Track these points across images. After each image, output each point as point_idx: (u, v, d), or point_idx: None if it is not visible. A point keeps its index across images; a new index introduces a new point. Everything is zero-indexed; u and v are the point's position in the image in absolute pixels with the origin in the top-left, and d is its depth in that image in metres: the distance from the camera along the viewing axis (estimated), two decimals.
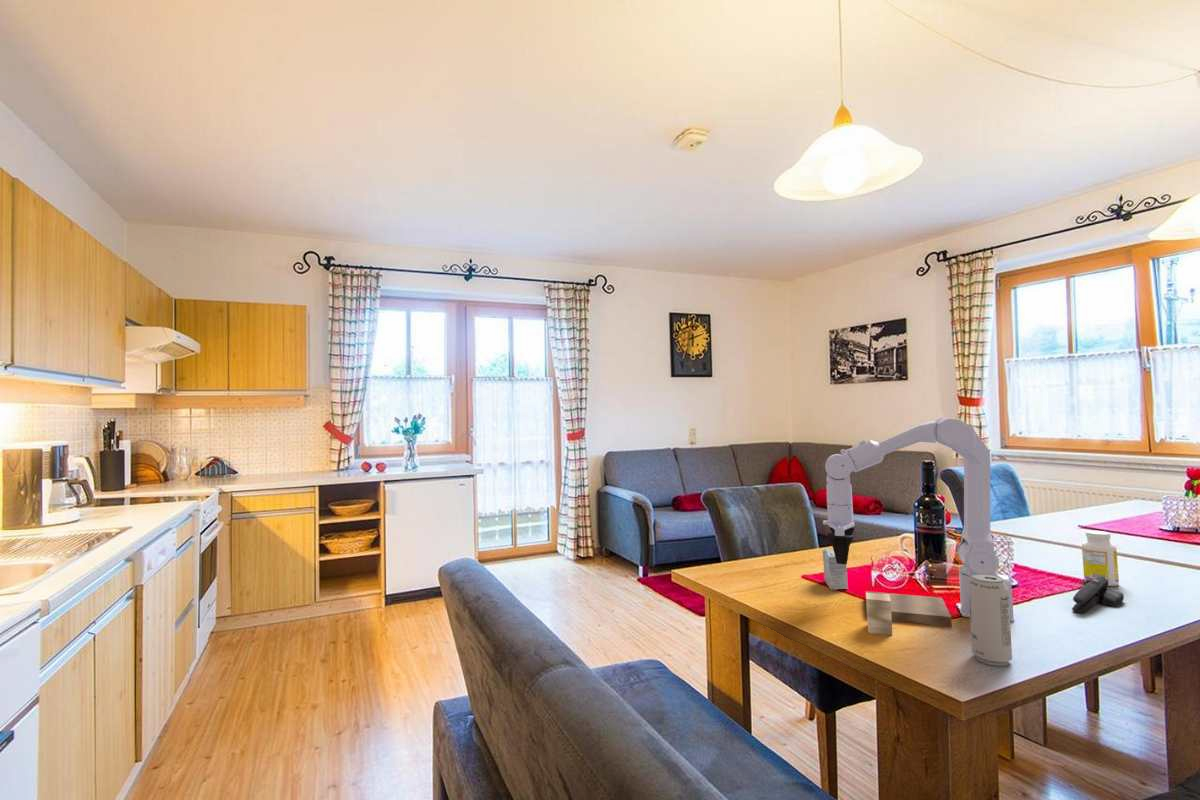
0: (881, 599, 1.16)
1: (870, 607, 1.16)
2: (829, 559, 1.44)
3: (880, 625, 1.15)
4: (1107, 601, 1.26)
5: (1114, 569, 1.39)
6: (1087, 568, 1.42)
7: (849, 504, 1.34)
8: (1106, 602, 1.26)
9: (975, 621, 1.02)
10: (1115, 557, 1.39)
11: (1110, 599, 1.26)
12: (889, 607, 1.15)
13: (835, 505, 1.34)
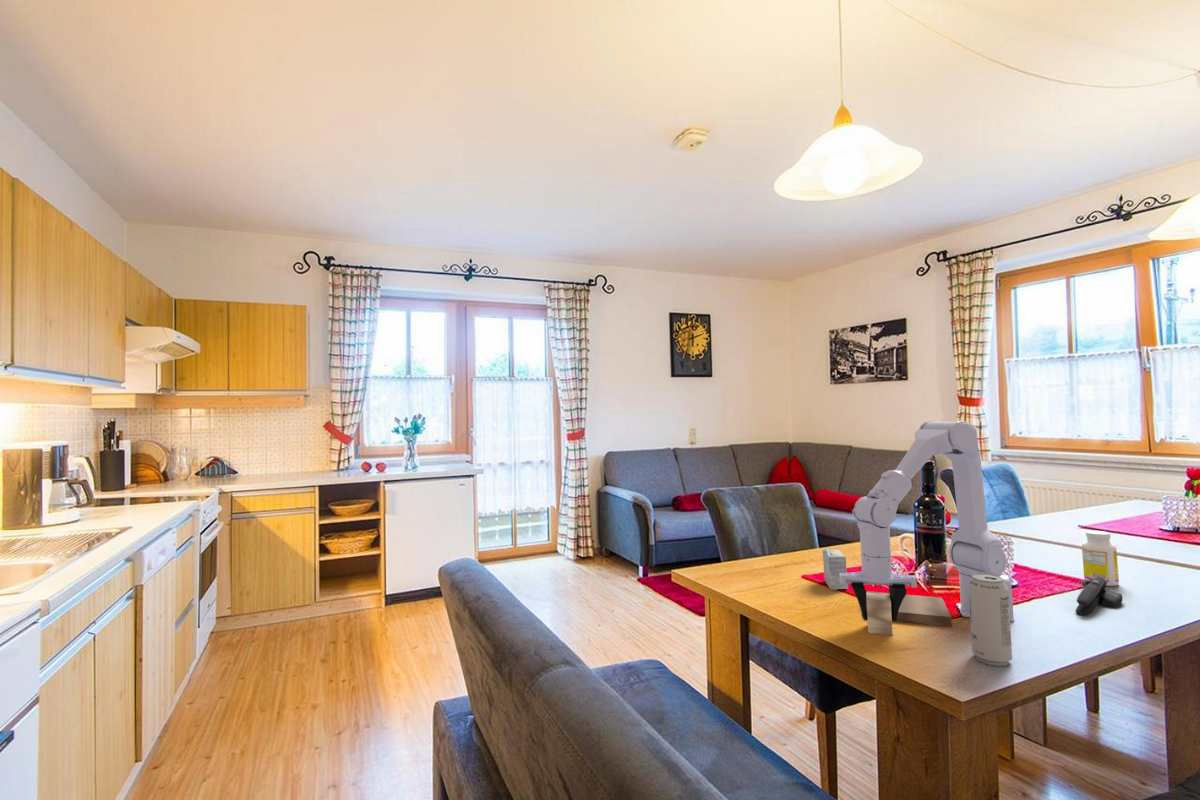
0: (881, 599, 1.16)
1: (870, 606, 1.16)
2: (829, 559, 1.44)
3: (880, 625, 1.15)
4: (1108, 602, 1.25)
5: (1114, 569, 1.39)
6: (1087, 568, 1.42)
7: (869, 556, 1.16)
8: (1106, 603, 1.25)
9: (975, 621, 1.02)
10: (1115, 557, 1.39)
11: (1110, 600, 1.25)
12: (889, 607, 1.15)
13: None
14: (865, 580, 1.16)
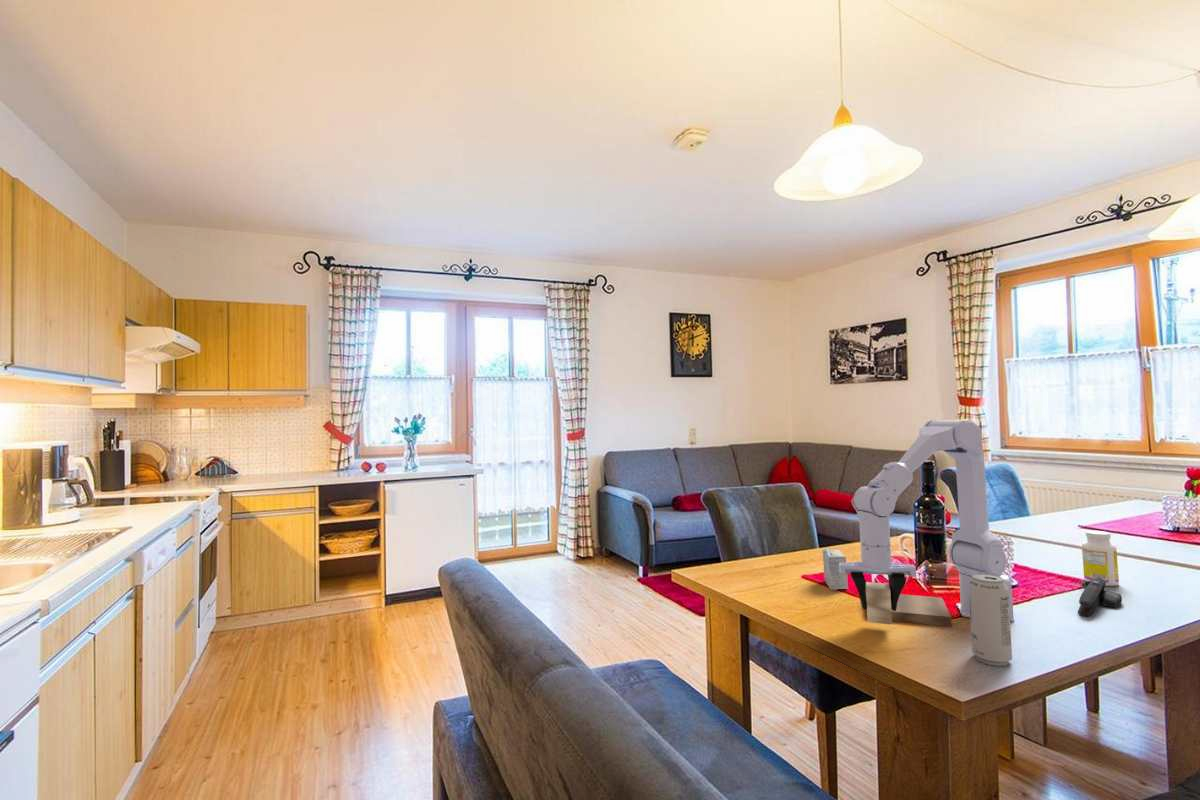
0: (881, 588, 1.16)
1: (870, 596, 1.16)
2: (829, 559, 1.44)
3: (879, 614, 1.15)
4: (1108, 603, 1.25)
5: (1114, 569, 1.39)
6: (1087, 568, 1.42)
7: (868, 545, 1.16)
8: (1107, 604, 1.25)
9: (975, 621, 1.02)
10: (1115, 557, 1.39)
11: (1111, 600, 1.25)
12: (889, 596, 1.15)
13: (860, 542, 1.19)
14: (865, 569, 1.16)
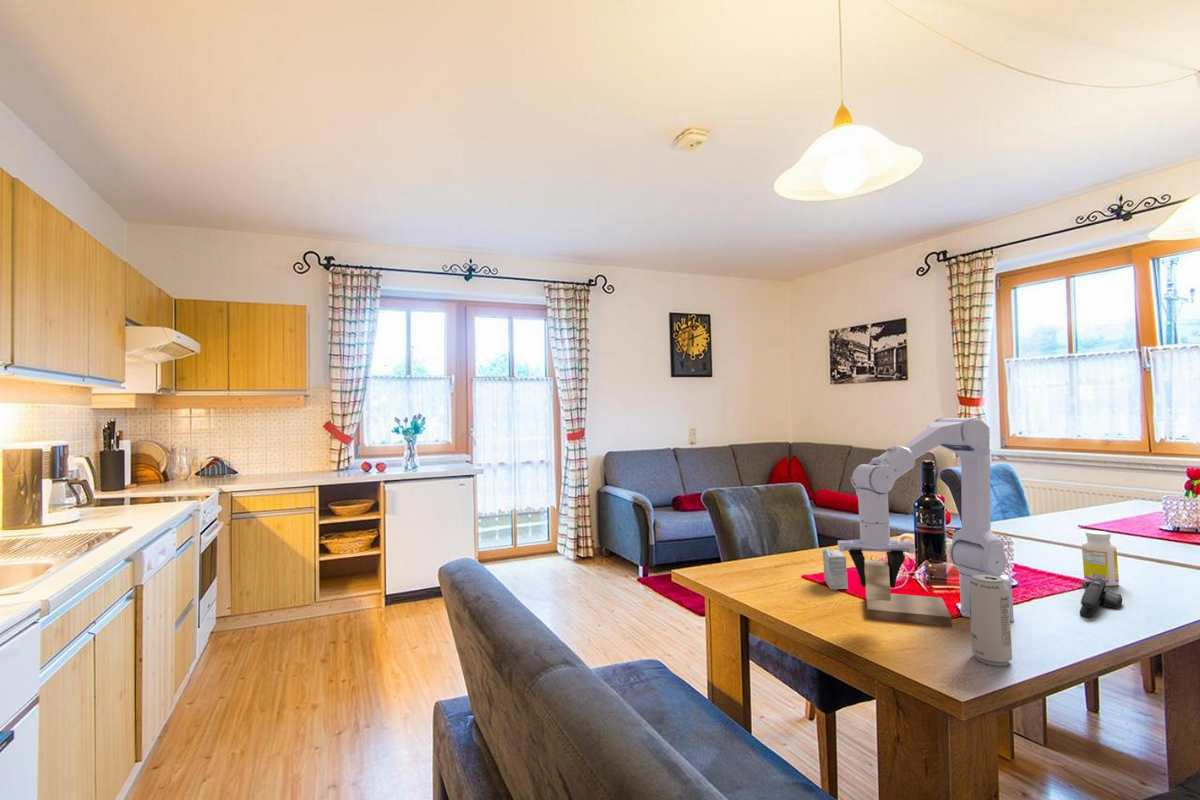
0: (879, 565, 1.16)
1: (869, 573, 1.16)
2: (829, 559, 1.44)
3: (878, 591, 1.16)
4: (1109, 603, 1.25)
5: (1114, 569, 1.39)
6: (1087, 568, 1.42)
7: (867, 522, 1.16)
8: (1108, 604, 1.25)
9: (975, 621, 1.02)
10: (1115, 557, 1.39)
11: (1112, 601, 1.25)
12: (887, 573, 1.15)
13: None
14: (863, 546, 1.16)
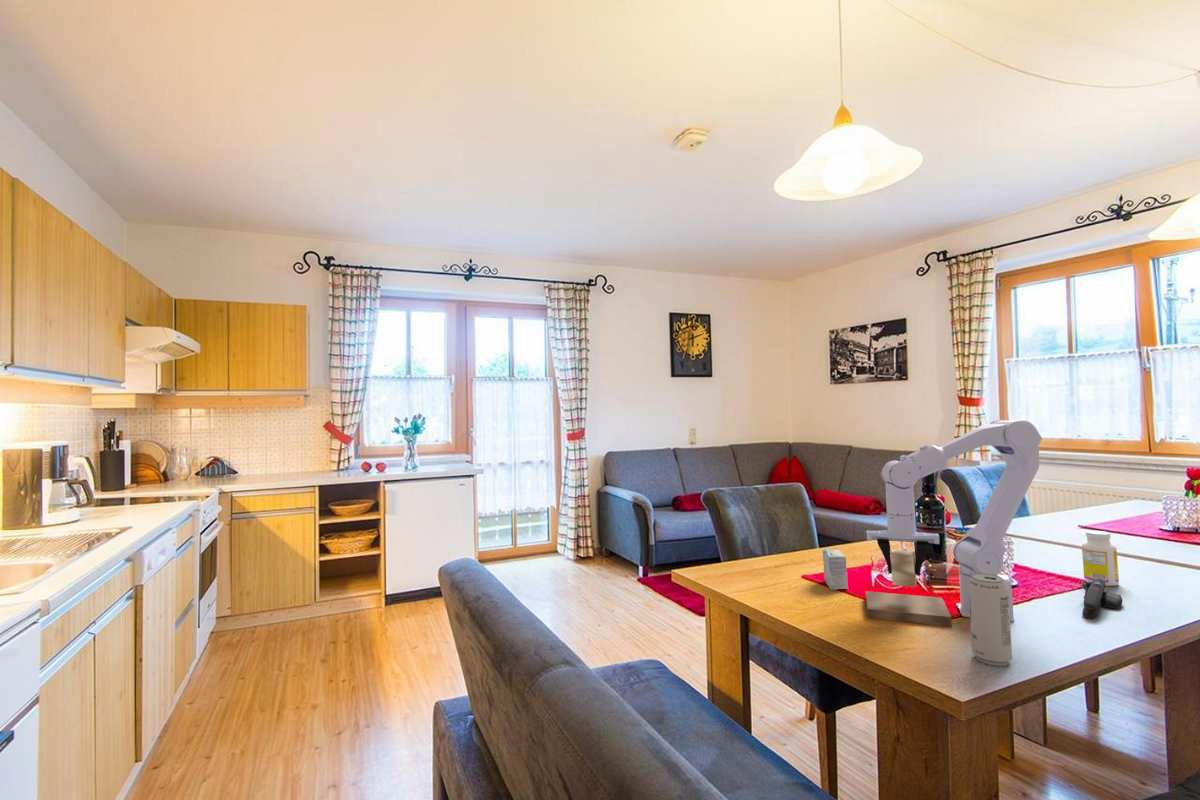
0: (905, 554, 1.26)
1: (894, 560, 1.26)
2: (829, 559, 1.44)
3: (903, 577, 1.25)
4: (1110, 604, 1.24)
5: (1114, 569, 1.39)
6: (1087, 568, 1.42)
7: (892, 514, 1.26)
8: (1109, 605, 1.24)
9: (975, 621, 1.02)
10: (1115, 557, 1.39)
11: (1112, 602, 1.24)
12: (912, 561, 1.24)
13: None
14: (889, 536, 1.26)
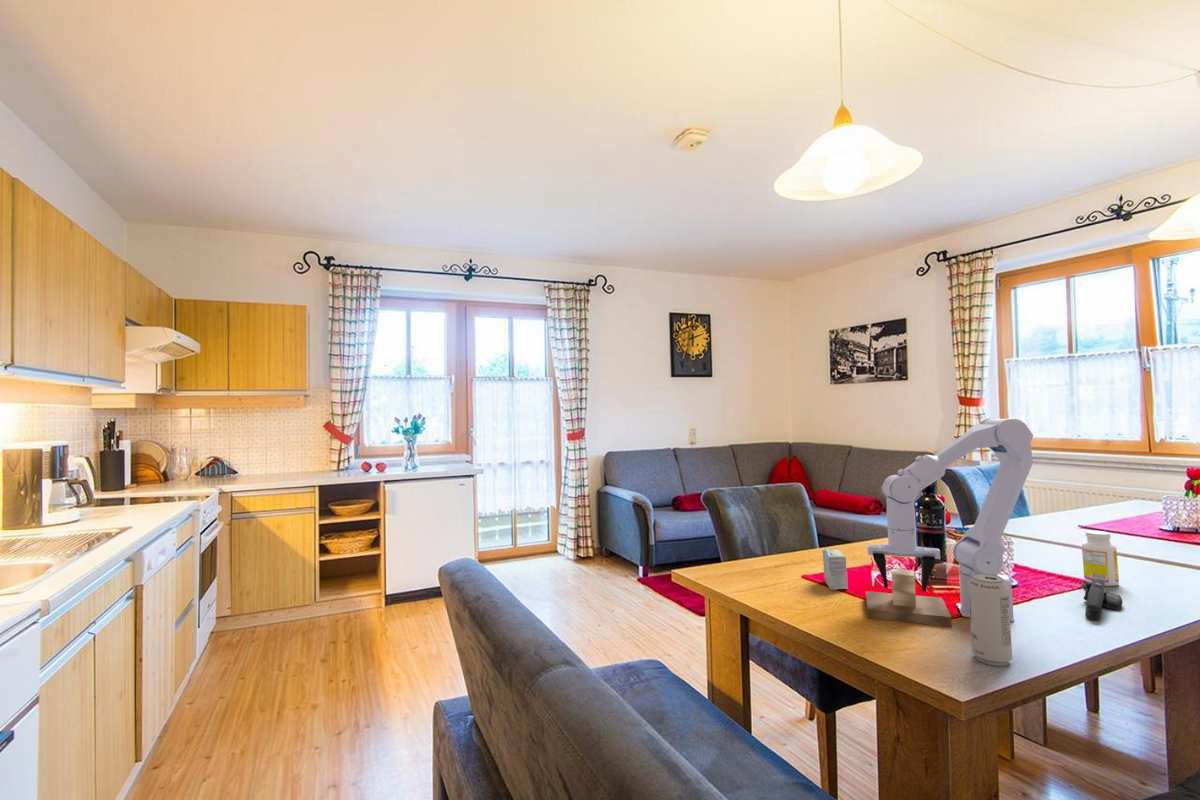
0: (905, 574, 1.26)
1: (895, 581, 1.26)
2: (829, 559, 1.44)
3: (904, 598, 1.25)
4: (1111, 605, 1.24)
5: (1114, 569, 1.39)
6: (1087, 568, 1.42)
7: (893, 529, 1.26)
8: (1110, 606, 1.24)
9: (975, 621, 1.02)
10: (1115, 557, 1.39)
11: (1113, 602, 1.24)
12: (913, 581, 1.24)
13: None
14: (890, 551, 1.26)
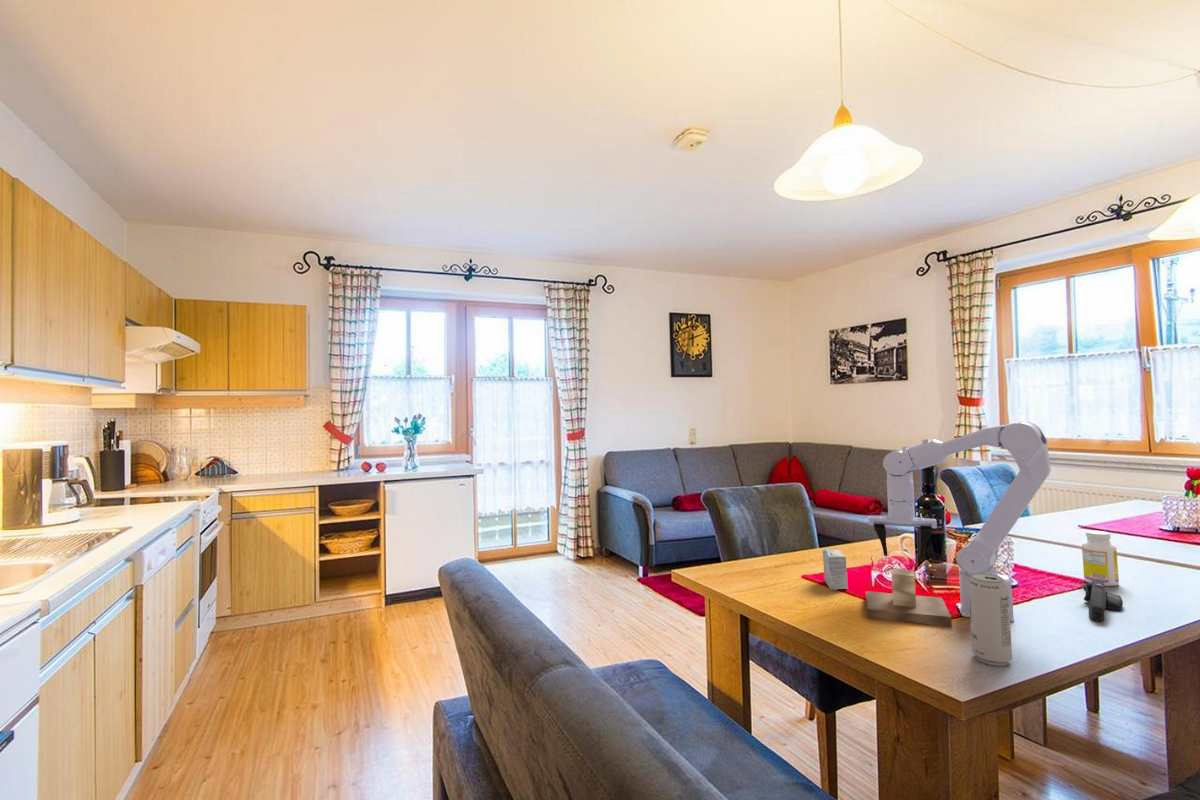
0: (905, 574, 1.26)
1: (895, 581, 1.26)
2: (829, 559, 1.44)
3: (904, 598, 1.25)
4: (1112, 606, 1.23)
5: (1114, 569, 1.39)
6: (1087, 568, 1.42)
7: (893, 500, 1.34)
8: (1111, 606, 1.23)
9: (975, 621, 1.02)
10: (1115, 557, 1.39)
11: (1114, 603, 1.23)
12: (913, 581, 1.24)
13: None
14: (890, 521, 1.35)
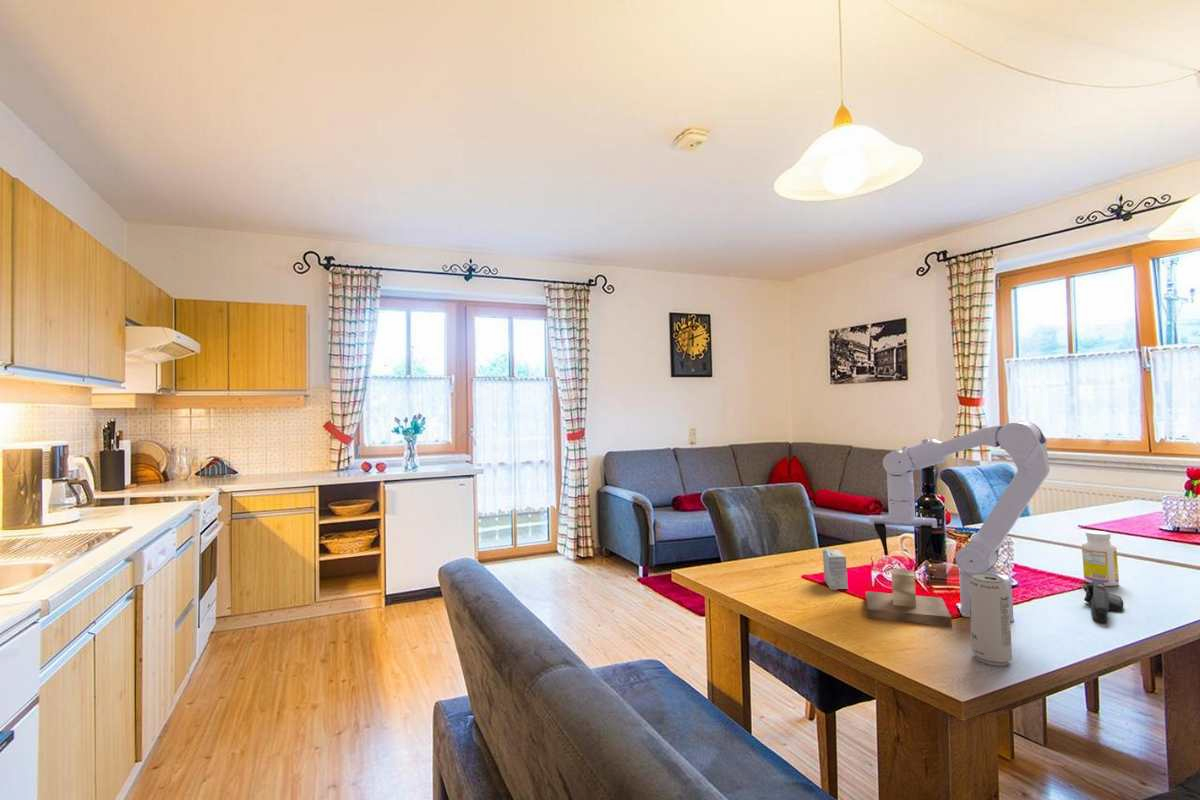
0: (905, 574, 1.26)
1: (895, 581, 1.26)
2: (829, 559, 1.44)
3: (904, 598, 1.25)
4: (1114, 606, 1.23)
5: (1114, 569, 1.39)
6: (1087, 568, 1.42)
7: (893, 500, 1.35)
8: (1112, 607, 1.23)
9: (975, 621, 1.02)
10: (1115, 557, 1.39)
11: (1116, 604, 1.23)
12: (913, 581, 1.24)
13: None
14: (890, 521, 1.35)
